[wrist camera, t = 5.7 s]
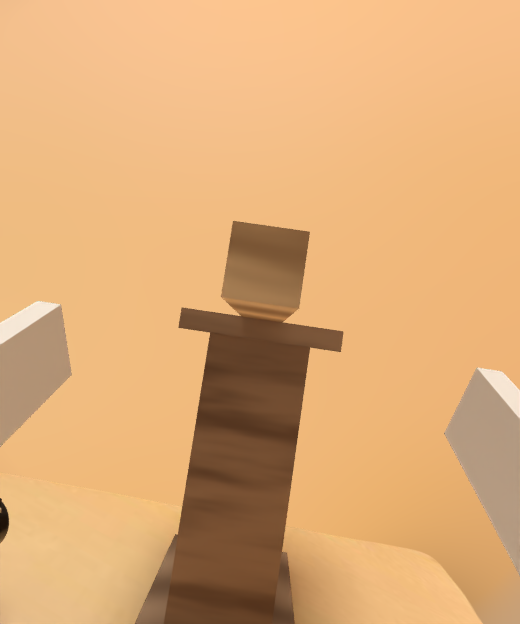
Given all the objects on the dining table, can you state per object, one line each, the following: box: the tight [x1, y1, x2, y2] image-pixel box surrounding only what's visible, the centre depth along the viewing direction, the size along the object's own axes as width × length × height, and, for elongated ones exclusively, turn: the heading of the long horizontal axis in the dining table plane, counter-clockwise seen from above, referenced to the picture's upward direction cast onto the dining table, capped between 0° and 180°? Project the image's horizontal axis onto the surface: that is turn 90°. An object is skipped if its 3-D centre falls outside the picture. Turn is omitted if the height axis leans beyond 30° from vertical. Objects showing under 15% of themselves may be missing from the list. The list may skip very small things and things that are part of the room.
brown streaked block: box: [221, 221, 310, 322], centre depth 28 cm, size 30×3×3 cm, turn 179°
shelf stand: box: [135, 308, 343, 624], centre depth 34 cm, size 20×14×28 cm
